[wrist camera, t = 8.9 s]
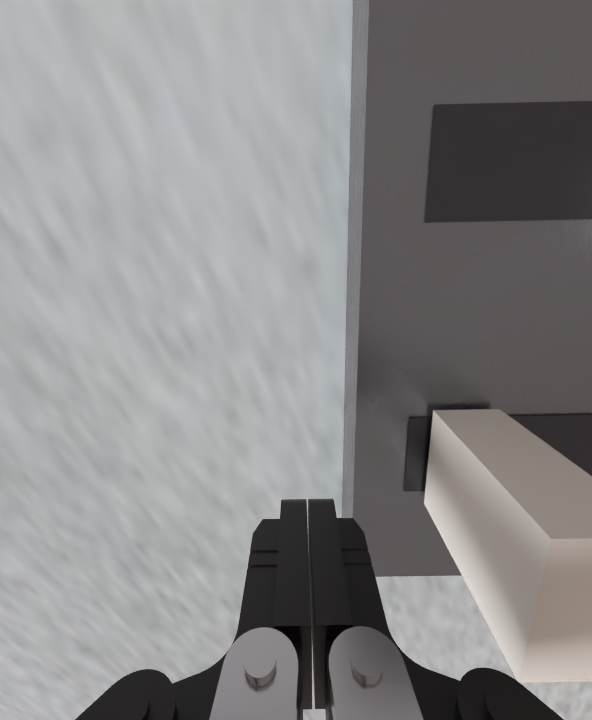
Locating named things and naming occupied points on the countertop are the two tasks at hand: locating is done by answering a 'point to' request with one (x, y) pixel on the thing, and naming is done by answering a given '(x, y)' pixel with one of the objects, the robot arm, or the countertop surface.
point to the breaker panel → (463, 245)
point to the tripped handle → (517, 538)
